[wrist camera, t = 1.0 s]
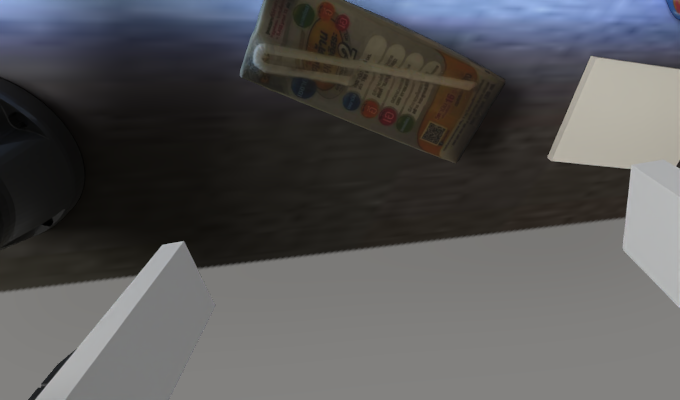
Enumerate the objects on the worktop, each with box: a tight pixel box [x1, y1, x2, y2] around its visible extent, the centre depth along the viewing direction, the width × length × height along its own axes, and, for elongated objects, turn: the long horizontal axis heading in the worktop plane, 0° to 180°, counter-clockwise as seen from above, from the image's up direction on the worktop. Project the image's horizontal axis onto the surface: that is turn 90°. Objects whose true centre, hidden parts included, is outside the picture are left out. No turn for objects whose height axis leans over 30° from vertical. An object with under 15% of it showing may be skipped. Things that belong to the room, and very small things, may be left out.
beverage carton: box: [240, 0, 506, 163], centre depth 31 cm, size 8×19×7 cm, turn 66°
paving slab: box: [547, 56, 680, 169], centre depth 38 cm, size 14×10×1 cm
